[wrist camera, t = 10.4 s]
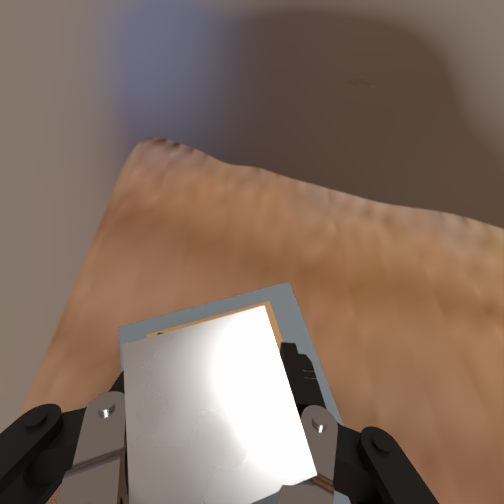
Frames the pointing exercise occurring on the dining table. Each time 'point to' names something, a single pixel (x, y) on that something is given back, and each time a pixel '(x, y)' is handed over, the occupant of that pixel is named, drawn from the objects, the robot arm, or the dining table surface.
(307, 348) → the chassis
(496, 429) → the dining table surface
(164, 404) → the brushed metal pillar
